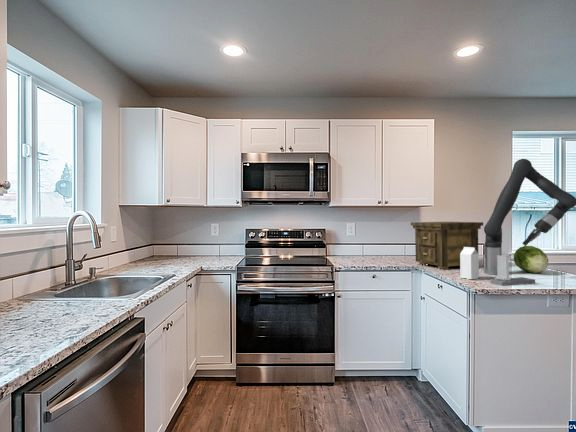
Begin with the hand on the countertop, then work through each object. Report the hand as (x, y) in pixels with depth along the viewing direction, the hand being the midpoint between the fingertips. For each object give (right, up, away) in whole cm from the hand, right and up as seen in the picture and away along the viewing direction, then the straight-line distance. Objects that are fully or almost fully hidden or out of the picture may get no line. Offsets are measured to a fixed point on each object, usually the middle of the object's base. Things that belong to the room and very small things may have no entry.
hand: (523, 244), depth 203 cm
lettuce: (+19, -20, +19) cm, 34 cm away
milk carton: (-31, -21, +2) cm, 38 cm away
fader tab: (-21, -18, -14) cm, 31 cm away
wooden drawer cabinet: (-23, -21, +52) cm, 60 cm away
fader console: (-15, -21, -12) cm, 28 cm away
